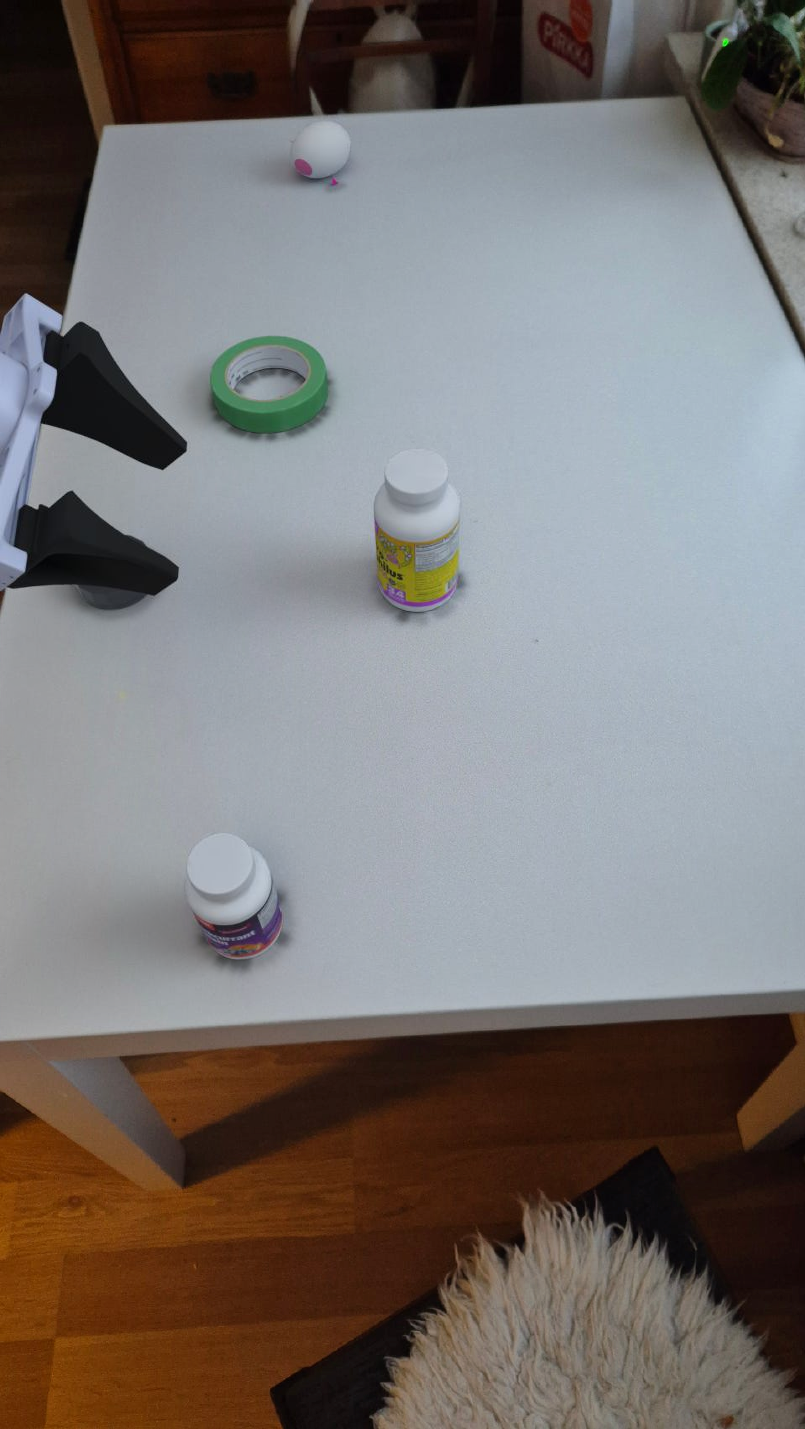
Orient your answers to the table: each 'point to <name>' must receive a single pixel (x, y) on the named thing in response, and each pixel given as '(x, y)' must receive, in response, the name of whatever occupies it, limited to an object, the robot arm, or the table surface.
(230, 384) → the tape roll
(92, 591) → the round open container
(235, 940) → the pill bottle
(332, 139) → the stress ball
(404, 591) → the supplement bottle
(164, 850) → the table surface
